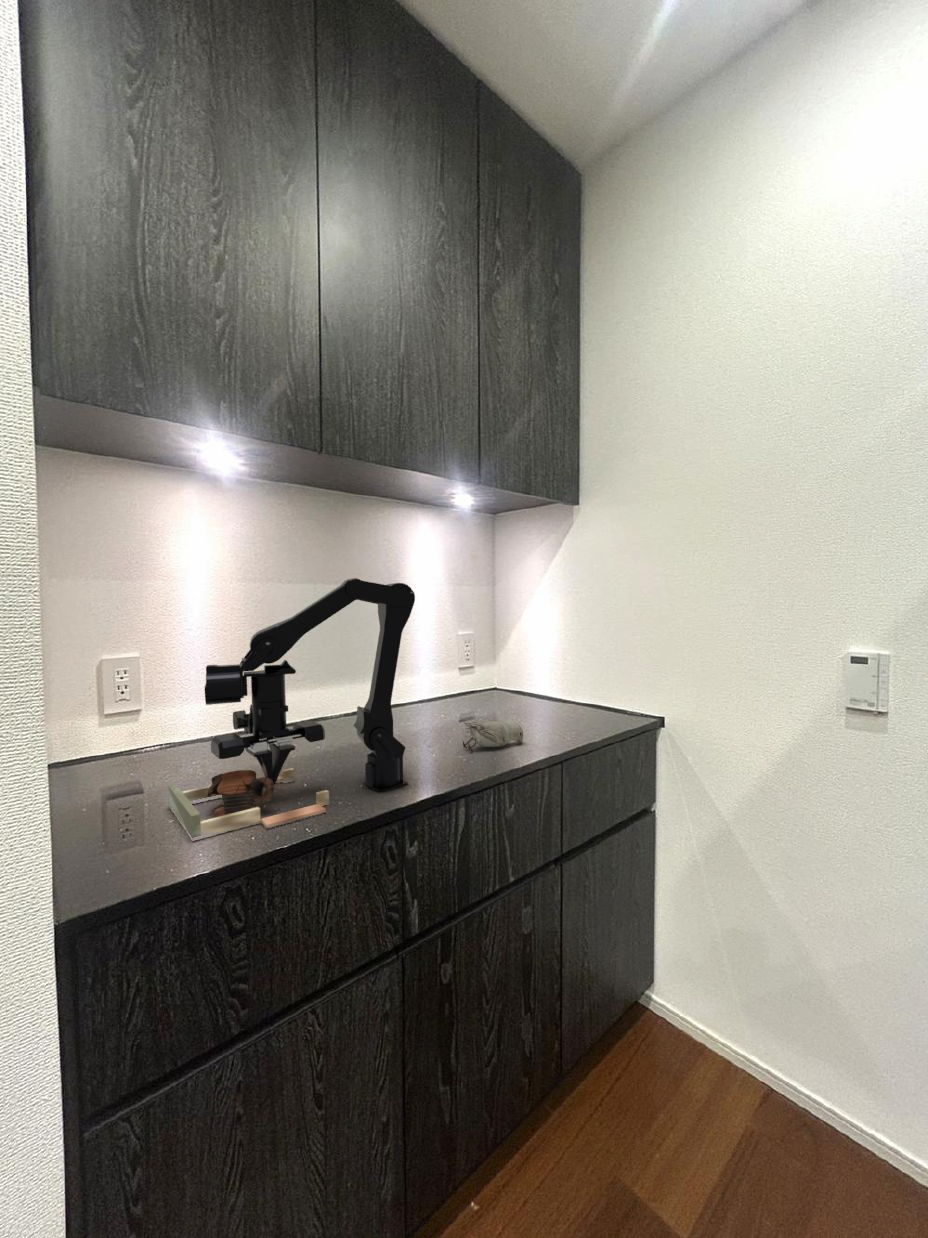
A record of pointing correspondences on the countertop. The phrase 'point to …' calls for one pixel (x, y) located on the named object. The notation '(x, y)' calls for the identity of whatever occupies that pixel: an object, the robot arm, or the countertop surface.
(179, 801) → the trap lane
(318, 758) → the countertop surface
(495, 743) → the decorative bird
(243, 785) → the pottery mug
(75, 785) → the countertop surface
